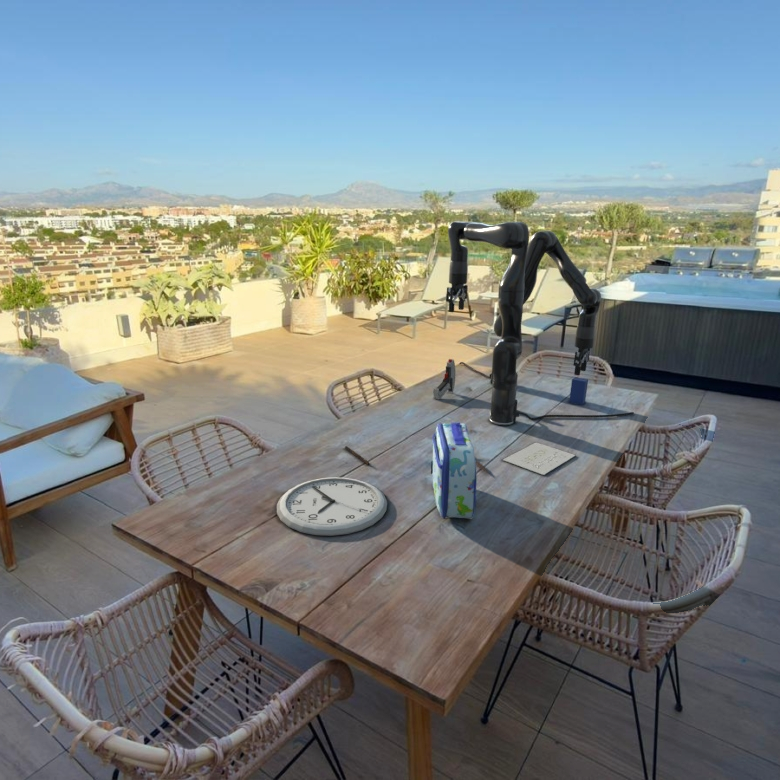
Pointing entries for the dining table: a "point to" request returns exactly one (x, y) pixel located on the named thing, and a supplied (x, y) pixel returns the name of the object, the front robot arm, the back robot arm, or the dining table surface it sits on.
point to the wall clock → (331, 506)
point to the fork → (481, 466)
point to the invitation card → (539, 458)
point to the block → (578, 391)
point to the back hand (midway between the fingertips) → (579, 372)
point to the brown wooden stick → (357, 455)
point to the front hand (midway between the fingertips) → (456, 310)
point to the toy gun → (446, 381)
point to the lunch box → (454, 471)
